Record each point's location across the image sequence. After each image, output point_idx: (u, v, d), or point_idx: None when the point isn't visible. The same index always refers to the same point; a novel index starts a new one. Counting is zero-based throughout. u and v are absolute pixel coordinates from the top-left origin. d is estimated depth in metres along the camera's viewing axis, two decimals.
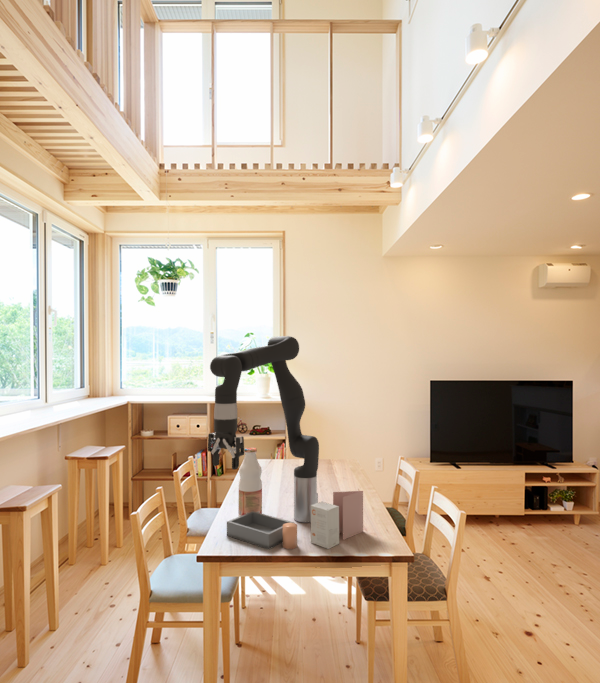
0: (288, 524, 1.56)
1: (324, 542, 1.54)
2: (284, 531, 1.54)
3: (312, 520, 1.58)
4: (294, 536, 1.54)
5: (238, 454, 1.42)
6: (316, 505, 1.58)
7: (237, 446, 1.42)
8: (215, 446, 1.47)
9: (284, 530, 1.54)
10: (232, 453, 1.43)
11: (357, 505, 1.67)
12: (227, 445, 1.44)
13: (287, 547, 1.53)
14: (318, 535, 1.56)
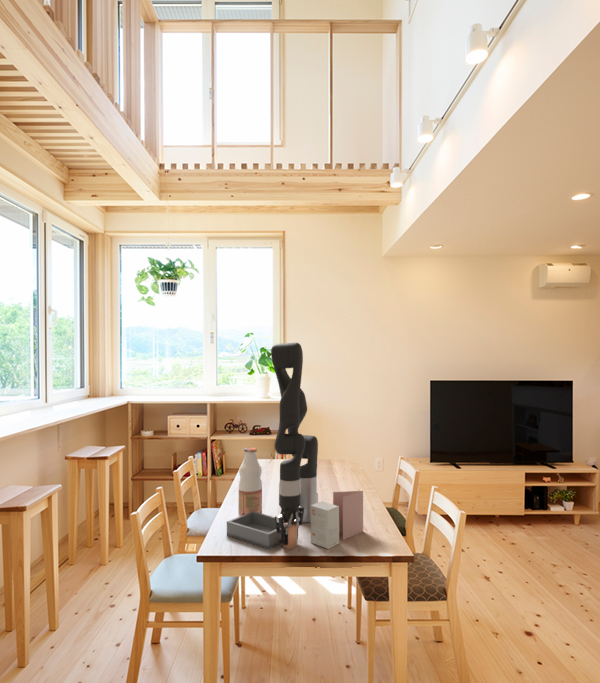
0: None
1: (324, 541, 1.54)
2: None
3: (312, 520, 1.58)
4: (294, 536, 1.54)
5: (301, 523, 1.59)
6: (316, 505, 1.58)
7: (302, 515, 1.59)
8: (289, 524, 1.53)
9: None
10: (297, 525, 1.57)
11: (357, 505, 1.67)
12: (298, 516, 1.57)
13: (287, 547, 1.53)
14: (318, 535, 1.56)
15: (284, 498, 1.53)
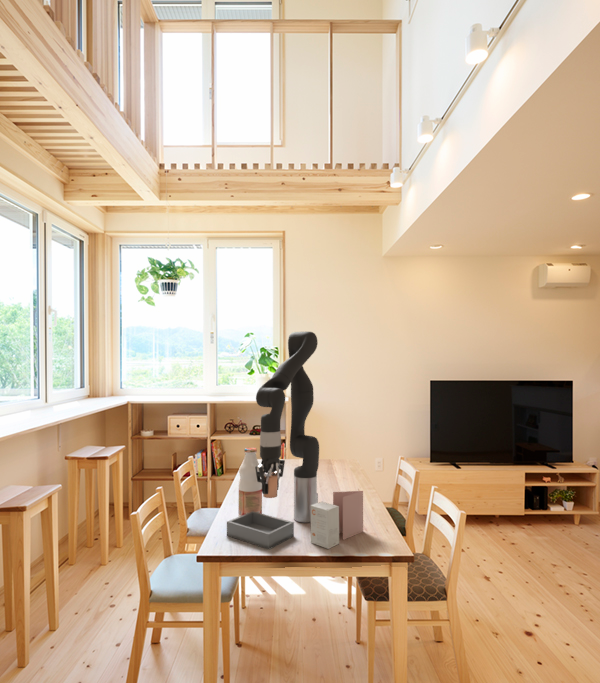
0: None
1: (324, 541, 1.54)
2: None
3: (312, 520, 1.58)
4: (274, 486, 1.59)
5: (282, 474, 1.64)
6: (316, 505, 1.58)
7: (282, 468, 1.65)
8: (270, 474, 1.58)
9: None
10: (277, 476, 1.62)
11: (357, 505, 1.67)
12: (278, 467, 1.62)
13: (267, 496, 1.58)
14: (318, 535, 1.56)
15: (264, 449, 1.58)
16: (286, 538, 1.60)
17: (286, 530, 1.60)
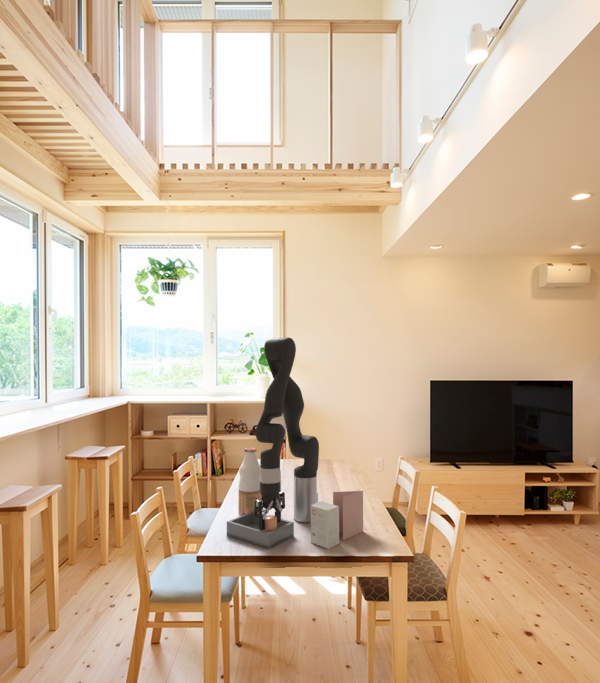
0: (268, 516, 1.61)
1: (324, 542, 1.54)
2: None
3: (312, 520, 1.58)
4: (274, 528, 1.58)
5: (284, 506, 1.65)
6: (316, 505, 1.58)
7: (283, 500, 1.65)
8: (268, 510, 1.57)
9: None
10: (280, 508, 1.63)
11: (357, 505, 1.67)
12: (278, 503, 1.61)
13: None
14: (318, 535, 1.56)
15: (264, 485, 1.57)
16: (286, 538, 1.60)
17: (286, 530, 1.60)
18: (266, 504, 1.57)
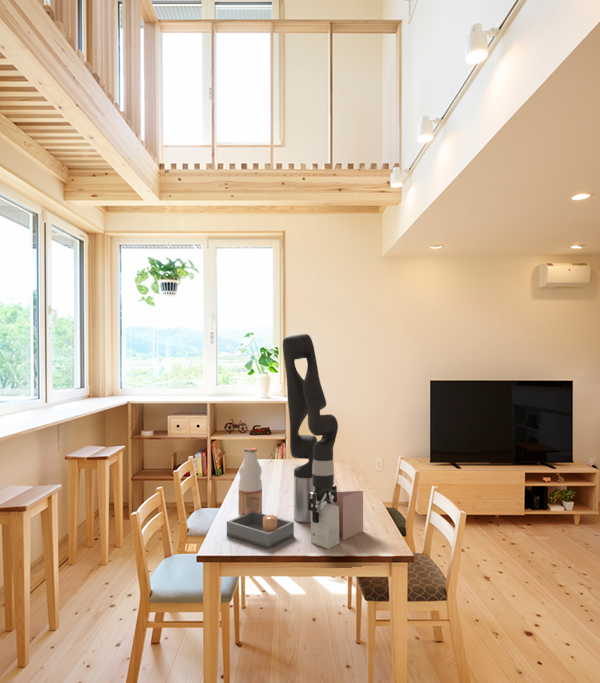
0: (268, 516, 1.61)
1: (324, 541, 1.54)
2: (264, 523, 1.58)
3: (312, 520, 1.58)
4: (274, 528, 1.58)
5: None
6: (316, 505, 1.58)
7: (336, 493, 1.62)
8: (322, 502, 1.54)
9: (264, 522, 1.58)
10: (332, 502, 1.60)
11: (357, 505, 1.67)
12: (331, 496, 1.59)
13: None
14: (318, 535, 1.56)
15: (318, 478, 1.55)
16: (286, 538, 1.60)
17: (286, 530, 1.60)
18: (320, 497, 1.55)
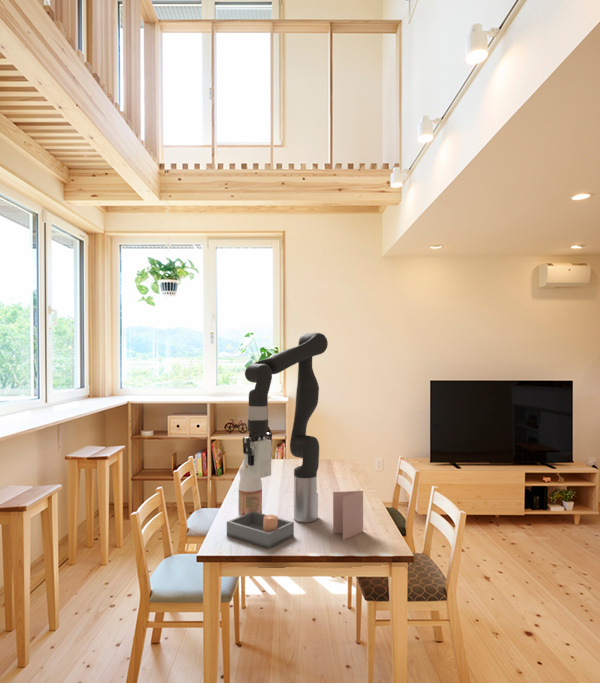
0: (268, 516, 1.60)
1: (255, 472, 1.62)
2: (266, 523, 1.58)
3: None
4: (275, 527, 1.59)
5: None
6: None
7: None
8: None
9: (266, 522, 1.58)
10: None
11: (357, 505, 1.67)
12: None
13: None
14: (250, 467, 1.63)
15: (252, 422, 1.63)
16: (286, 538, 1.60)
17: (286, 530, 1.60)
18: None
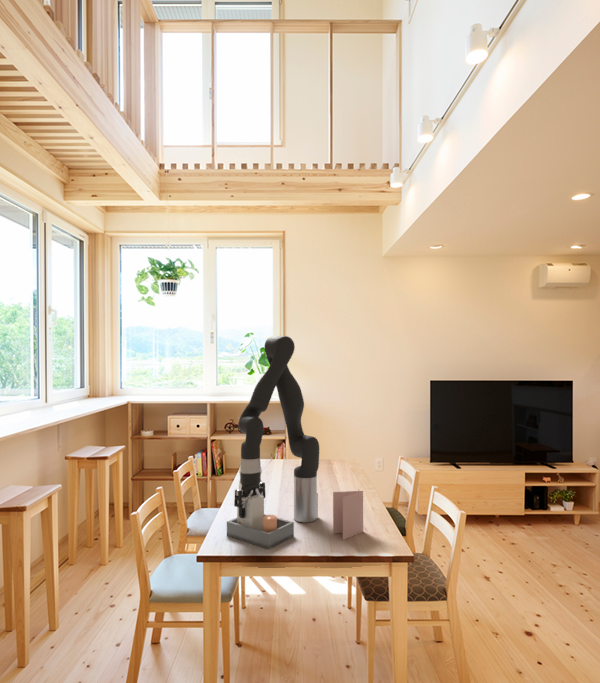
0: (267, 517, 1.60)
1: None
2: (268, 524, 1.57)
3: (238, 509, 1.66)
4: (276, 526, 1.59)
5: (264, 496, 1.71)
6: None
7: (264, 490, 1.71)
8: None
9: (268, 523, 1.57)
10: None
11: (357, 505, 1.67)
12: (258, 493, 1.67)
13: None
14: (243, 524, 1.64)
15: (244, 475, 1.63)
16: (286, 538, 1.60)
17: (286, 530, 1.60)
18: (246, 493, 1.63)
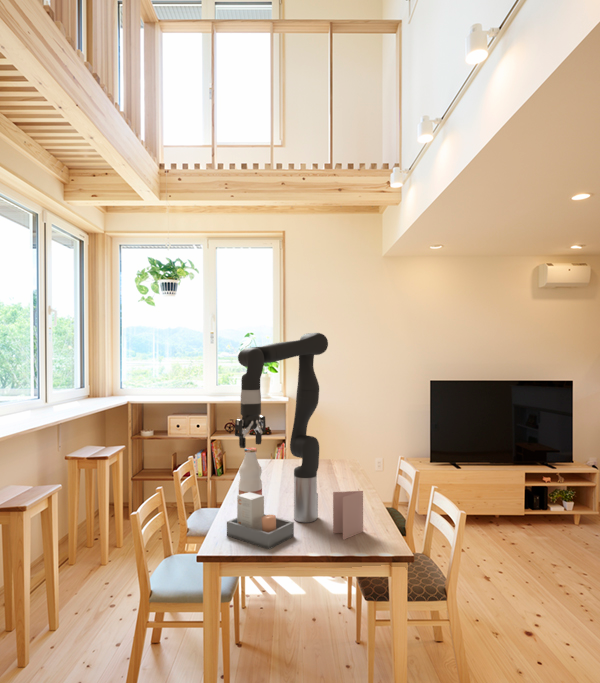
0: (266, 517, 1.60)
1: None
2: (269, 523, 1.58)
3: (238, 509, 1.66)
4: None
5: (265, 429, 1.72)
6: (242, 495, 1.67)
7: (264, 423, 1.71)
8: (248, 429, 1.64)
9: (269, 522, 1.58)
10: (260, 430, 1.70)
11: (357, 505, 1.67)
12: (258, 425, 1.68)
13: None
14: (243, 524, 1.64)
15: (244, 406, 1.64)
16: (286, 538, 1.60)
17: (286, 530, 1.60)
18: (246, 424, 1.64)
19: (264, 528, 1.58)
